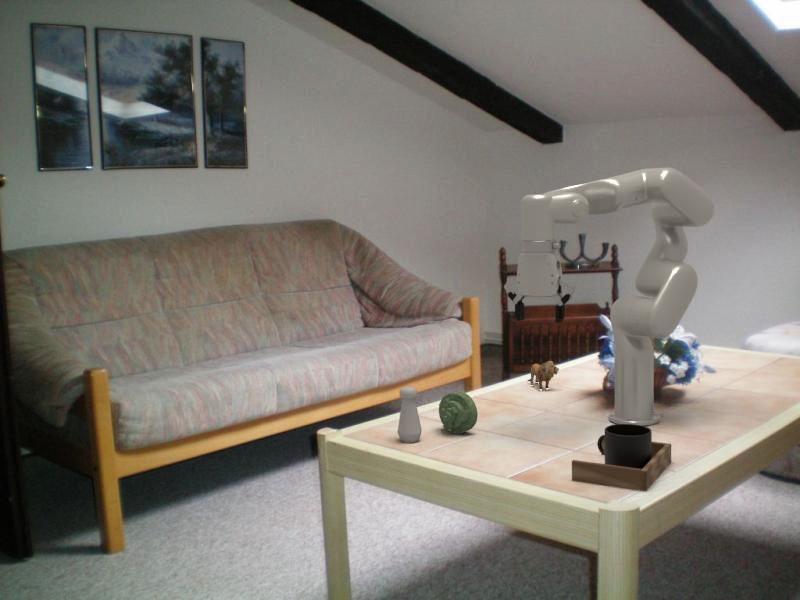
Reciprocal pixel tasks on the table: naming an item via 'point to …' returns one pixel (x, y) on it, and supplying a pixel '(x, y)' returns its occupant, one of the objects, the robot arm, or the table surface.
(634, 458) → the mug
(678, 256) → the robot arm
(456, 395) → the decorative artifact
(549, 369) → the lion figurine
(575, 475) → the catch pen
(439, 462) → the table surface
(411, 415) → the salt shaker
